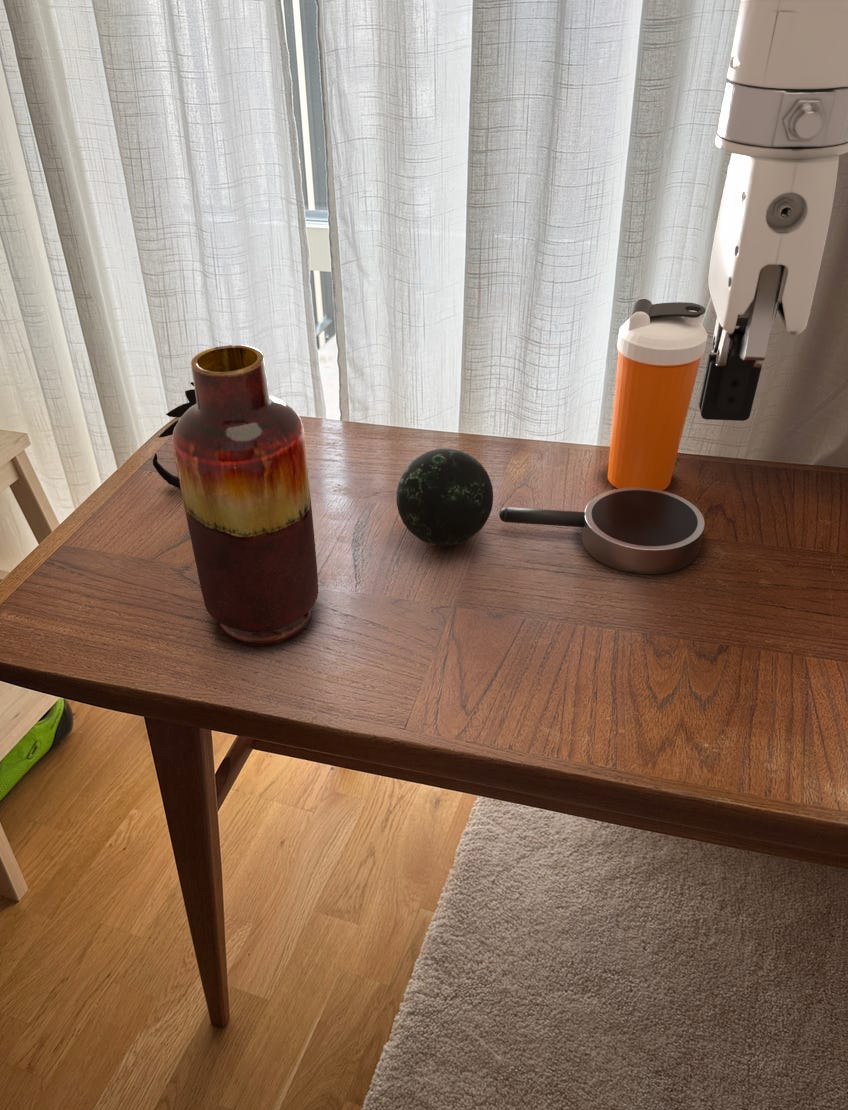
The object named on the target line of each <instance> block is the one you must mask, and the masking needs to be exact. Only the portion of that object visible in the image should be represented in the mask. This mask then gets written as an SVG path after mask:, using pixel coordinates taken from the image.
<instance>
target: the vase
mask: <svg viewBox="0 0 848 1110" xmlns="http://www.w3.org/2000/svg"><path fill="white" fill-rule="evenodd" d="M265 363H266V362H265V357H264V354H263V353H262V351H261V350H259V349H258V348H255V347H253V346H249V345H243V344H228V345H226V344H225V345H220V346H214V347H211V348H208V349H205V350H203V351H200V352H199V353H197V354H196V355H195V356H194V357H192V359H191V362H190V365H191V375H192V380H193V381H192V382H194V386H193V389H195V394H196V401H197V404H195V405H193V406H192V407H190V408H189V409H188V410H187V411H186V412H185V413H184V414H183V415H182V417H179V419H178V420H179V421H178V423H177V424H176V426H175V428H174V431H173V435H171V442H172V449H173V455H174V460H175V467H176V471H177V476H178V477H179V482H180V487H181V489H180V492H181V496H182V502H183V507H184V511H185V516H186V522H187V527H188V532H189V537H190V542H191V547H192V553H193V556H194V561H195V566H196V567H195V568H196V571H197V572H196V573H197V575H198V576H197V577H198V581H199V586H200V587H199V588H200V592H201V595H202V599H203V603H204V607H205V609H206V612H208V614H209V615H210V616H211V618H213V620H214V621H216V622H217V624H218V626H219V630H220V631H221V633H222V634H223V635H224V636H225V637H226V638H227V639H229V640H231V641H232V642H234V643H237V644H240V645H243V646H247V647H248V646H249V647H269V646H275V645H278V644H281V643H285V642H287V641H289V640H291V639H293V638H295V637H296V636H298V635H299V634H301V633H302V632H303V631H304V630H305V629H306V628H307V626H308V625H309V623H310V620H311V616H312V608H313V607H314V606H315V603H316V602H317V599H318V596H319V577H318V575H319V574H318V562H317V551H316V540H315V539H316V538H315V530H314V518H313V508H312V507H313V506H312V498H311V497H312V496H311V487H310V485H311V484H310V477H309V467H308V466H309V465H308V455H307V446H306V438H305V437H306V436H305V429H304V428H305V427H304V424H303V421H302V418H301V416H300V415H299V414H298V413H297V411H296V410H295V409H294V408H293V407H292V406H290V405H289V404H288V403H286V402H285V401H284V400H283V399H280V398H279V397H276V396H274V395H271V394H270V390H269V384H268V377H267V370H266V364H265Z"/></svg>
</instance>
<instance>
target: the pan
mask: <svg viewBox="0 0 848 1110" xmlns="http://www.w3.org/2000/svg"><path fill="white" fill-rule="evenodd" d="M498 516H499V519H500V520H501V522H504V523H510V524H511V523H512V524H526V525H527V524H528V525H540V526H541V525H542V526H557V527H571V528H582V529H581V530H582V531H581V542H582V545H583V547H584V549H585V550H586V552H587V553H588V554H589V555H590V556H591V557H592V558H593V559H595V560H596V561H598V562H599V563H601V564H603V565H604V566H607V567H609V568H611V569H615V570H618V571H621V572H625V573H630V574H637V575H662V574H668V573H673V572H676V571H679V570H681V569H683V568H685V567H687V566H689V565H690V564H691V563H693V562H694V561H695V559H696V558H697V557H698V555H699V553H700V548H701V543H702V541H703V535H704V531H705V525H706V524H705V523H706V522H705V519H704V516H703V514H702V512H701V511H700V510H699V508H698V507H697V506H696V505H694V504H693V503H692V502H690V501H689V500H687V499H685V497H684V498H683V497H682V496H680V495H677V494H674V493H672V492H669V491H665V490H663V491H661V490H657V489H650V488H636V487H634V488H621V489H618V488H616V489H612V490H608V491H605V492H602V493H600V494H598V495H597V496H595V497H593V498H592V499H591V500H590V501H589V502H588V503H587V504H586V506H585V509H584V511H576V510H575V511H574V510H558V509H543V508H528V507H515V506H514V507H512V506H506V507H503V508H501V509H500V511H499V513H498Z"/></svg>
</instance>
